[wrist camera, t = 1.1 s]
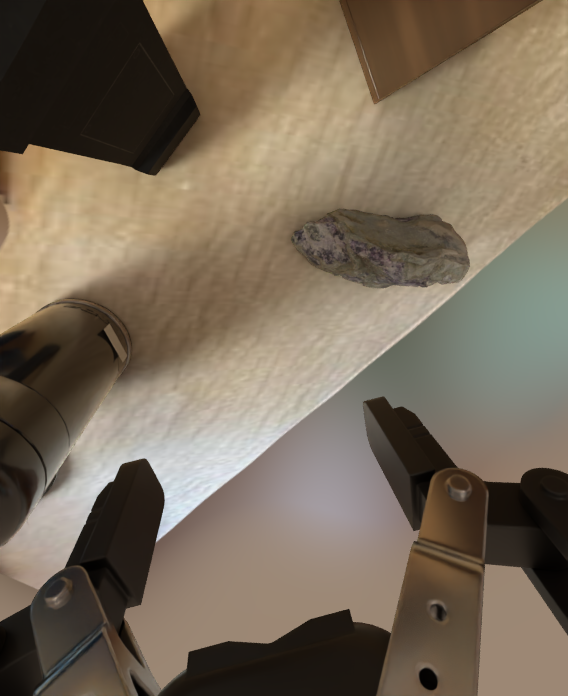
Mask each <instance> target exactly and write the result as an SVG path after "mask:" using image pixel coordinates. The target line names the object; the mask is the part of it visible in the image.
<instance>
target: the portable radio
mask: <svg viewBox="0 0 568 696" xmlns="http://www.w3.org/2000/svg"><path fill="white" fill-rule="evenodd" d="M199 116H200V112H199V110H198V108H197V106H196V103H195V101H194V99H193V97H192V94H191V93H190V92H189V90H188V89H187V88H186V86H185V84H184V82H183V80H182V78H181V76H180V74H179V72H178V70H177V68H176V66H175V64H174V62H173V60H172V58H171V56H170V54H169V52H168V50H167V48H166V46H165V44H164V42H163V40H162V38H161V36H160V34H159V32H158V30H157V28H156V26H155V24H154V22H153V20H152V18H151V16H150V14H149V12H148V10H147V8H146V6H145V4H144V2H143V0H0V150H1V151H7V152H13V153H19V154H23V153H24V151H25V149H26V148H27V146H28V145H29V144H32V145H36V146H41V147H45V148H50V149H54V150H59V151H63V152H68V153H72V154H77V155H81V156H86V157H90V158H95V159H99V160H104V161H108V162H113V163H117V164H122V165H126V166H130V167H132V168H134V169H135V170H137V171H140V172H143V173H145V174H149V175H156V174H157V173H158V172H159V171H160V169H161V168H162V167H163V165H164V164H165V163H166V161H167V160H168V159H169V157H170V156H171V154H172V153H173V152H174V150H175V149H176V148H177V146H178V145H179V144H180V142H181V141H182V139H183V138H184V137H185V135H186V134H187V133H188V131H189V130H190V129H191V127H192V126H193V124H194V123H195V122H196V120H197V119H198V117H199Z"/></svg>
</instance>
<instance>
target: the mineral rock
mask: <svg viewBox="0 0 568 696" xmlns="http://www.w3.org/2000/svg"><path fill="white" fill-rule="evenodd" d="M291 241H292V243H293V245H294V246H295V247H296V248H297V250H298V251H299V252H301V253H302V254H303V255H304V256H306V257H307V258H308V260H309V262H310V263H311V264H312V265H314V266H315V267H317V268H319V269H322V270H324V271H326V272H329V273H332V274H334V275H336V276H339V275H340V276H342V277H343V278H345V279H347V280H350V281H353V282H357V283H362V284H363V286H366V287H371V288H386V287H389V286H392V285H399V286H414V287H418V286H420V287H428V286H430V285H433V284H434V283H437V282H438V283H439V284H447V283H455V282H459V281H461V280H462V279H463V278H464V276H465V275H466V273H467V271H468V269H469V267H470V261H469V257H468V252H467V248H466V245H465V243H464V241H463V239H462V238H461V237H460V236H459V235H458V234H457V233H456V232H455V231H454V229H453V227H452V225H451V224H449V223H446V222H444V221H442V219H441V218H440V217H439V216H437V215H433V214H432V215H427V216H426V215H420V216H414V217H411V218H396V219H393V217H392V218H391V217H389V216H386V215H384V216H382V215H376V214H369V213H364V212H361V211H357V210H346V209H338V210H337V211H334V212H331V213H328V214H327V217H324V218H322V219H320V220H318V221H317V222H312V221H309V222H307V223H306V224H305V225H304V227H303V229H301V230H300V231H295V232H294V234H293V236H292V238H291Z"/></svg>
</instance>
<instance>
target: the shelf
mask: <svg viewBox="0 0 568 696" xmlns="http://www.w3.org/2000/svg"><path fill="white" fill-rule="evenodd" d="M541 1H542V0H340V3H341V6H342V9H343V12H344V15H345V18H346V21H347V24H348V27H349V30H350V33H351V36H352V39H353V42H354V45H355V48H356V51H357V54H358V57H359V60H360V63H361V66H362V69H363V72H364V75H365V78H366V81H367V84H368V87H369V90H370V93H371V96H372V99H373V102H374V104H376V103H378V102H379V101H381V100H382V99H384V98H386V97H387V96H389V95H391V94H392V93H394V92H395V91H397V90H399V89H400V88H402V87H404V86H405V85H407V84H408V83H410V82H412V81H413V80H415V79H417V78H418V77H420V76H421V75H423V74H425V73H426V72H428V71H429V70H431V69H433V68H434V67H436V66H438V65H439V64H441V63H442V62H444V61H446V60H447V59H449V58H451V57H452V56H454V55H455V54H457V53H459V52H460V51H462V50H464V49H465V48H467V47H468V46H470V45H472V44H473V43H475V42H477V41H478V40H480V39H481V38H483V37H485V36H486V35H488V34H490V33H491V32H493V31H494V30H496V29H498V28H499V27H501V26H502V25H504V24H506V23H507V22H509V21H510V20H512V19H514V18H515V17H517V16H518V15H520V14H522V13H523V12H525V11H526V10H528V9H530V8H531V7H533V6H534V5H536V4H538V3H539V2H541Z"/></svg>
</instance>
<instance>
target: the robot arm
mask: <svg viewBox="0 0 568 696" xmlns="http://www.w3.org/2000/svg"><path fill="white" fill-rule="evenodd" d="M131 351H132V347H131V340H130V337H129V334H128V332H127V330H126V328H125V327H124V325H123V324H122V322H121V321H120V320H119V319H118V318H117V317H116V316H115V315H114V314H113V313H111V312H110V311H109V310H107V309H105V308H104V307H102V306H100V305H98V304H96V303H93V302H90V301H86V300H81V299H63V300H58V301H55V302H52V303H50V304H48V305H46V306H45V307H43V308H41V309H40V310H39V311H37V312H36V313H35V314H34V315H32V316H30V317H29V318H27V319H25V320H23V321H22V322H20V323H18V324H17V325H15V326H13V327H12V328H10V329H8V330H7V331H5V332H3V333H2V334H0V548H1V547H2V546H4V545H5V544H6V543H7V542H8V541H9V540H11V539H12V538H13V537H14V535H15V534H16V533H17V532H18V531H19V530H20V529H21V527H22V526H23V525H24V523H25V522H26V520H27V519H28V517H29V516H30V514H31V513H32V511H33V510H34V508H35V506H36V505H37V503H38V502H39V500H40V498H41V497H42V496H43V495H45V493H46V492H47V491H48V490H49V489H50V487H51V486H52V484H53V482H54V480H55V477H56V474H57V471H58V470H59V468H60V467H61V465H62V464H63V462H64V461H65V459H66V457H67V455H68V454H69V452H70V451H71V449H72V448H73V446H74V445H75V443H76V442H77V440H78V439H79V437H80V435H81V434H82V432H83V431H84V429H85V428H86V426H87V425H88V423H89V422H90V420H91V419H92V417H93V415H94V414H95V412H96V411H97V409H98V408H99V406H100V405H101V403H102V402H103V400H104V399H105V397H106V395H107V394H108V392H109V391H110V389H111V388H112V386H113V385H114V383H115V382H116V380H117V379H118V377H119V376H120V375H121V374H122V373H123V371H124V370H125V368H126V367H127V365H128V363H129V361H130V357H131ZM363 409H364V417H365V424H366V431H367V437H368V441H369V444H370V447H371V449H372V451H373V453H374V455H375V457H376V459H377V461H378V463H379V465H380V467H381V469H382V471H383V473H384V475H385V476H386V478H387V480H388V482H389V484H390V486H391V488H392V490H393V492H394V494H395V496H396V498H397V499H398V501H399V503H400V505H401V507H402V509H403V511H404V513H405V515H406V517H407V519H408V521H409V523H410V525H411V527H412V528H413V531H416V530H420V531H419V535H418V539H417V542H416V541H414V542H413V544H412V547H411V551H410V554H409V559H408V563H407V567H406V572H405V576H404V580H403V584H402V589H401V593H400V597H399V601H398V605H397V610H396V614H395V618H394V623H393V627H392V631H391V633H390V632H388V631H386V630H384V629H382V628H379V627H376V626H374V625H370V624H365V623H359V622H353V621H352V617H351V614H350V610H349V609H347V610H343V611H339V612H336V613H332V614H328V615H325V616H321V617H317V618H314V619H310V620H308V621H307V622H305V623H304V624H302V625H300V626H299V627H297V628H295V629H294V630H292V631H291V632H289V633H287V634H286V635H284V636H283V637H281V638H279V639H278V640H276V641H274V642H272V643H269V644H263V643H262V644H261V643H247V642H232V641H228V642H224V643H220V644H216V645H213V646H209V647H205V648H202V649H198V650H194V651H190V652H189V654H188V663H187V669H186V670H184V671H183V672H181V673H180V674H179V675H178V676H176V677H175V678H174V679H173V680H172V681H171V682H170V683H168V684H167V685H166V686H165V687H164V688H163V689H162V690H161V688H160V687H159V685H158V684H157V682H156V680H155V679H154V677H153V675H152V673H151V671H150V669H149V667H148V665H147V662H146V660H145V658H144V657H143V654H142V652H141V650H140V648H139V645H138V644H137V641H136V639H135V637H134V635H133V633H132V631H131V629H130V626H129V624H128V622H127V621H126V620H125V618H124V613H125V610H126V609H127V608H130V607H134V606H138V605H141V602H142V598H143V594H144V589H145V585H146V581H147V577H148V572H149V568H150V564H151V560H152V555H153V551H154V546H155V543H156V538H157V534H158V530H159V526H160V521H161V517H162V513H163V509H164V502H165V499H164V492H163V489H162V486H161V484H160V483H159V481H158V479H157V477H156V475H155V473H154V471H153V469H152V468H151V466H150V464H149V462H148V461H147V460H146V459H140V460H136V461H132V462H128V463H124V464H122V465H121V466H120V468H119V471H118V473H117V475H116V478H115V480H114V481H113V482H109V483H108V484H107V486H106V487H105V488H104V489H103V490H102V492H101V493H100V494H99V495H98V497H97V499H96V501H95V503H94V505H93V507H92V510H91V511H92V512H91V513H90V514H89V516H88V518H87V521H86V525H84V527H83V529H82V531H81V534H80V536H79V538H78V540H77V542H76V544H75V547H74V549H73V551H72V553H71V555H70V557H69V560H68V562H67V564H66V566H65V568H64V569H63V570H61V571H59V572H58V573H56V574H55V575H54V576H52V577H51V578H50V579H49V580H48V581H47V582H46V583H45V584H44V585H43V586H42V587H41V588H40V590H39V591H38V592H37V594H36V596H35V597H34V599H33V601H32V604H31V605H29V606H28V607H26V608H24V609H22V610H21V611H19V612H17V613H15V614H13V615H12V616H10V617H8V618H6V619H4V620H3V621H1V622H0V696H477V693H478V677H479V659H480V641H481V625H482V607H483V590H484V572H485V571H484V570H485V564H491V565H502V566H513V567H521V568H522V569H523V571H524V572H525V574H526V575H527V576H528V578H529V579H530V581H531V582H532V584H533V585H534V587H535V588H536V590H537V591H538V592H539V594H540V595H541V597H542V598H543V600H544V601H545V603H546V604H547V606H548V607H549V608H550V610H551V611H552V613H553V614H554V616H555V617H556V619H557V620H558V622H559V623H560V625H561V626H562V628H563V629H564V630H565V632H566V633H567V635H568V474H566V473H564V472H561V471H558V470H554V469H549V468H536V469H531V470H529V471H527V472H526V473H525V474H523V476H522V478H521V483H502V482H486V481H483V480H482V479H480V478H479V477H478V476H477V475H475V474H474V473H472V472H470V471H467V470H464V469H460V468H458V467H457V466H456V465H455V464H454V463H453V461H452V460H451V459H450V458H449V456H448V455H447V454H446V453H445V451H444V450H443V449H442V447H441V446H440V445H439V444H438V443H437V441H436V440H435V439H434V438H433V436H432V435H431V434H430V433H429V431H428V430H427V429H426V427H425V426H423V424H422V422H421V421H420V420H419V419H418V417H417V416H416V415H415V414H414V413H412V412H411V411H409V410H407V409H406V408H404V407H398V408H394V409H393V408H392V407H391V406H390V404H389V403H388V401H387V400H386V398H385V397H379V398H375V399H371V400H367V401H364V402H363Z"/></svg>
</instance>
